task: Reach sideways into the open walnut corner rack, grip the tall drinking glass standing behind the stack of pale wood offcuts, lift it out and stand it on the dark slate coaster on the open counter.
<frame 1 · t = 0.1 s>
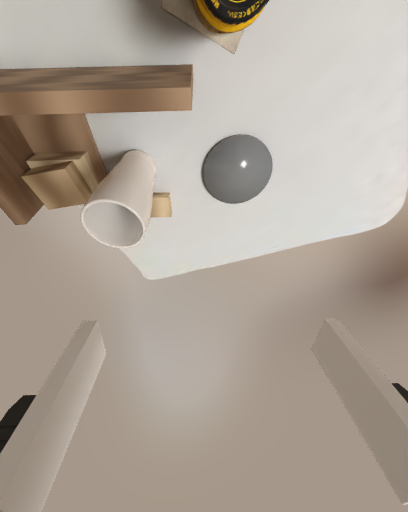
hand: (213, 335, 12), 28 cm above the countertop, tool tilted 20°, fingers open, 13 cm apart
offcut flat: (148, 201, 37), on the countertop
offcut upper: (64, 181, 29), point 4 cm above the countertop, touching offcut lower
coaster: (236, 172, 33), on the countertop
drinking glass: (139, 166, 32), on the countertop
rack: (139, 166, 32), on the countertop
offcut lower: (72, 172, 31), point 1 cm above the countertop, touching offcut upper, rack
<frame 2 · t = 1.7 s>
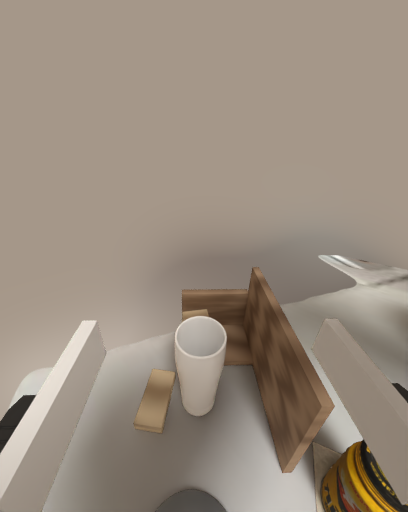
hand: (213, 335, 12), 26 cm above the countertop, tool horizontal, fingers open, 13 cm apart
offcut flat: (157, 401, 33), on the countertop
offcut upper: (196, 330, 40), point 4 cm above the countertop, touching offcut lower
drinking glass: (198, 399, 33), on the countertop
rack: (198, 398, 33), on the countertop
condiment: (347, 499, 24), on the countertop
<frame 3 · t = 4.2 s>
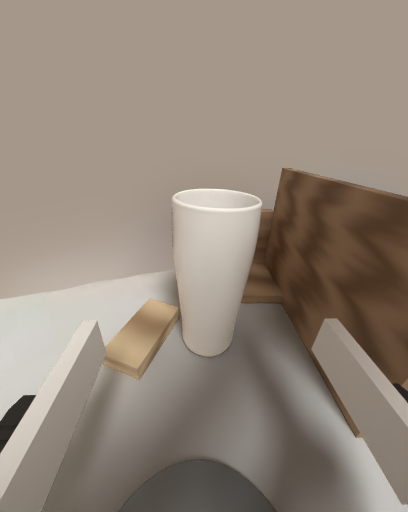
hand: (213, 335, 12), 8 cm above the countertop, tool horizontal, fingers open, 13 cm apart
offcut flat: (146, 340, 22), on the countertop
drinking glass: (206, 338, 22), on the countertop
rack: (207, 337, 22), on the countertop
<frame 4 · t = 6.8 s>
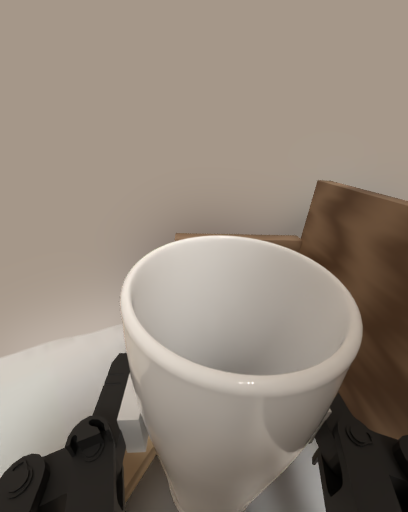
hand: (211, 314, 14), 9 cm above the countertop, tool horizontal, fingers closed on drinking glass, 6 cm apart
offcut flat: (107, 475, 13), on the countertop
drinking glass: (209, 468, 13), on the countertop, touching gripper
rack: (209, 467, 13), on the countertop
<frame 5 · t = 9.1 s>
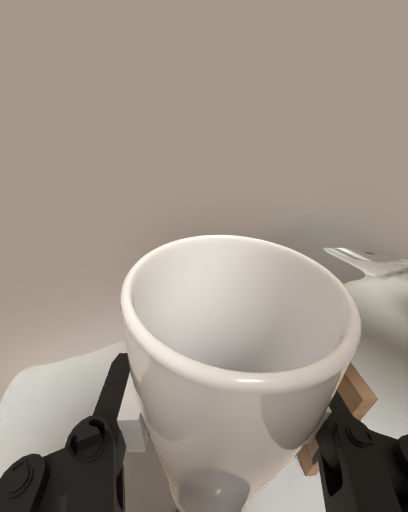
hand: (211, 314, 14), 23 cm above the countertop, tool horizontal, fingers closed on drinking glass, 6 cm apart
drinking glass: (209, 467, 13), point 14 cm above the countertop, touching gripper
rack: (207, 395, 30), on the countertop
when the fingers open (10 cm above the countertop, at t = 11.9 s): drinking glass drops 1 cm, resting on coaster.
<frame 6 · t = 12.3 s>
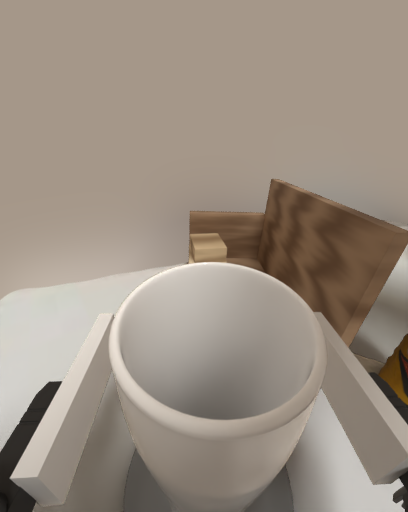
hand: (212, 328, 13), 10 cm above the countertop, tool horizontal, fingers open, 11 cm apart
offcut upper: (206, 254, 35), point 4 cm above the countertop, touching offcut lower
coaster: (208, 478, 14), on the countertop
drinking glass: (206, 477, 14), resting on coaster
rack: (210, 315, 28), on the countertop
condiment: (404, 405, 19), on the countertop
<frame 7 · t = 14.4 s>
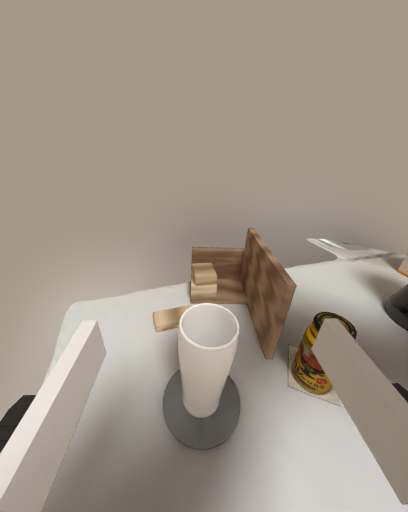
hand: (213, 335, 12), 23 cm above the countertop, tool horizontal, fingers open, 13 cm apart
offcut flat: (174, 322, 43), on the countertop
offcut upper: (203, 277, 50), point 4 cm above the countertop, touching offcut lower
coaster: (201, 400, 30), on the countertop
drinking glass: (200, 399, 29), resting on coaster
rack: (204, 320, 44), on the countertop
condiment: (310, 372, 35), on the countertop
offcut lower: (202, 287, 52), point 1 cm above the countertop, touching offcut upper, rack
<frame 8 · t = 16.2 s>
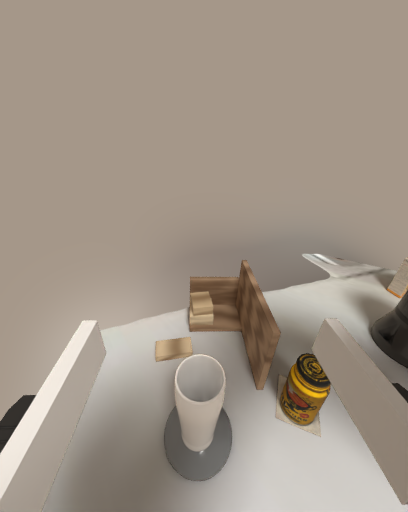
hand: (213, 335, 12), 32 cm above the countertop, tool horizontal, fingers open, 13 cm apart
offcut flat: (174, 352, 47), on the countertop
offcut upper: (201, 306, 54), point 4 cm above the countertop, touching offcut lower
coaster: (198, 433, 34), on the countertop
drinking glass: (197, 432, 34), resting on coaster
rack: (202, 350, 48), on the countertop
supplement box: (402, 293, 71), on the countertop
condiment: (296, 403, 39), on the countertop
offcut lower: (200, 315, 56), point 1 cm above the countertop, touching offcut upper, rack
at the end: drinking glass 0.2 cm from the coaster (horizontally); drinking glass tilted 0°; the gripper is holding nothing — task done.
